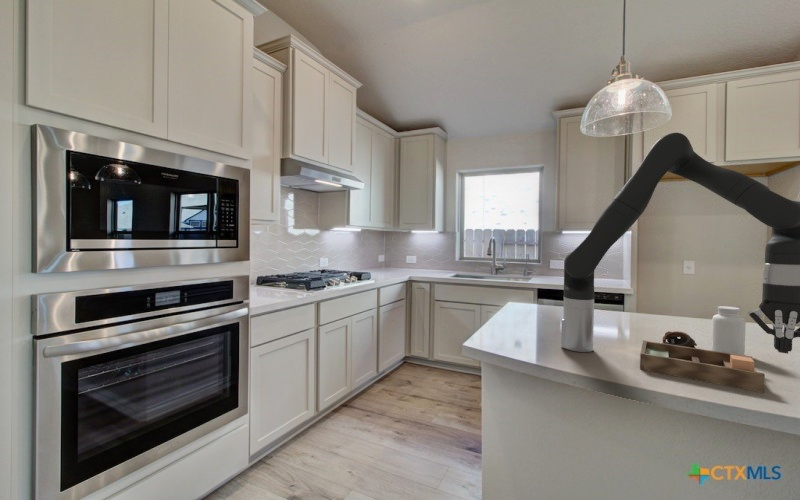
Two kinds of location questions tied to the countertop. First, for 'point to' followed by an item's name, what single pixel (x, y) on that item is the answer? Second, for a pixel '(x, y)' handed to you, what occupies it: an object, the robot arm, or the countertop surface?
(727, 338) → the pill bottle
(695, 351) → the box
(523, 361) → the countertop surface
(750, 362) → the terracotta block
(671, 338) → the pottery mug
